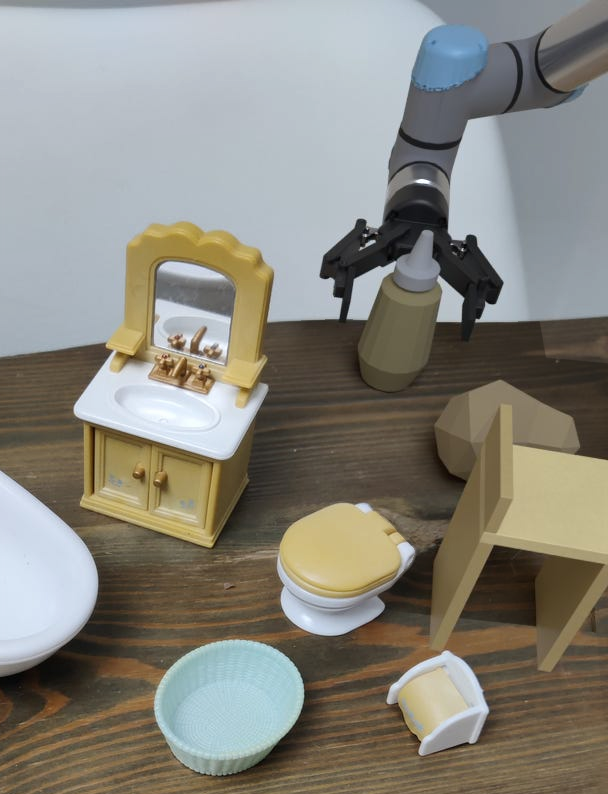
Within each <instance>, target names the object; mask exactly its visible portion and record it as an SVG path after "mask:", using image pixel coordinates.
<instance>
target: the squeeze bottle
mask: <svg viewBox="0 0 608 794" xmlns="http://www.w3.org/2000/svg"><path fill="white" fill-rule="evenodd" d="M433 235H434V234H433V232H432V231H430V230H424V231H422V233H421V235H420V237H419V238H418V240H417V242H416V244H415V246H414V248H413V249H412V251H411V253H410V254H406V255H402V256H401V257H400V258H398V259H397V261H395V265H394V268H393V271H391V272H390V273H388V274H387V275H385V276H384V277H383V278H382V281H381V283H380V286H379V289H378V291H377V294H376V296H375V299H374V301H373V304H372V306H371V309H370V312H369V315H368V318H367V320H366V322H365V326H364V328H363V330H362V333H361V336H360V338H359V342H358V344H357V353H358V362H359V370H360V374H361V378H362V380H363V381H364V382H365V383H366V384H367V385H368V386H370V387H371V388H374V389H376V390H378V391H381V392H382V391H383V392H388V393H389V392H392V393H393V392H399V391H402V390H405V389H406V388H408V387H409V386H410V385H412V383H413V381H415V379H416V378H417V376H418V375H419V374H420V373H421V372H422V370H423V369H424V368H425V367H426V365H427V364H428V362H429V358H430V354H431V350H432V345H433V339H434V335H435V331H436V330H435V329H436V325H437V320H438V316H439V315H438V314H439V310H440V306H441V301H442V296H443V288H442V286H441V284H440V282H438V279H439V277H440V276H439V273H440V266H439V264H438V263H437V262H436V261H435V260H434V259H433V258H432V251H433Z"/></svg>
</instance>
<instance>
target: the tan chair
mask: <svg viewBox="0 0 608 794" xmlns="http://www.w3.org/2000/svg"><path fill="white" fill-rule="evenodd" d="M494 546H500V547H505V548H511V549H517V550H523V551H529V552H534V553H540V554H546V555H548V556H547V558H546V559H545V561H544V563H543V565H542V567H541V568H540V570H539V572H538V574H537V576H536V577H535V580H534V591H535V592H534V594H535V596H534V597H535V599H534V600H535V629H536V630H535V632H536V664H537V671H542V672H547V673H551V672H552V671H553V670H554V668H555V666H556V665H557V663H558V662H559V661H560V659H561V657H562V656H563V654H564V653H565V651H566V650H567V648H568V647H569V645H570V644H571V642H572V641H573V639H574V637H575V636H576V635H577V633H578V632H579V630H580V629H581V627H582V626H583V624H584V622H585V621H586V620H587V618H588V616H589V615H590V613H591V612H592V610H593V609H594V607H595V606H596V604H597V603H598V601H599V600H600V598H601V597H602V595H603V594H604V592H605V591H606V589H607V587H608V459H602V458H596V457H591V456H584V455H578V454H574V455H573V454H567V453H560V452H554V451H548V450H542V449H536V448H530V447H524V446H518V445H513V431H512V406H511V405H506V404H500V406H499V408H498V410H497V413H496V415H495V417H494V420H493V422H492V425H491V427H490V429H489V432H488V434H487V436H486V439H485V441H484V443H483V446H482V448H481V451H480V453H479V455H478V458H477V460H476V462H475V465H474V467H473V469H472V472H471V474H470V477H469V479H468V481H466V484H465V486H464V489H463V491H462V493H461V496H460V498H459V501H458V503H457V505H456V508H455V510H454V512H453V515H452V517H451V519H450V522H449V524H448V526H447V529H446V531H445V533H444V536H443V538H442V541H441V543H440V546H439V548H438V550H437V553H436V555H435V557H434V561H433V566H432V567H433V568H432V586H431V590H432V591H431V603H430V604H431V606H430V625H429V626H430V627H429V645H428V649H429V650H430V651H435V652H441V653H442V652H443V651H444V649H445V647H446V644H447V643H448V642H449V641H448V640H449V638H450V636H451V635H452V633H453V630H454V628H455V626H456V624H457V622H458V620H459V618H460V616H461V614H462V613H463V609H464V608H465V606H466V603H467V601H468V599H469V598H470V595H471V593H472V592H473V589H474V588H475V585H476V583H477V580H478V578H479V577H480V575H481V572H482V571H483V569H484V566H485V564H486V563H487V561H488V558H489V557H490V554H491V553H492V551H493V548H494Z"/></svg>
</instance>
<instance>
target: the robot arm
mask: <svg viewBox="0 0 608 794" xmlns="http://www.w3.org/2000/svg"><path fill="white" fill-rule="evenodd" d="M607 74H608V0H588V2H585V3H584V4H582V5H581V6H579V7H578V8H576V9H574V10H573V11H572V12H570V13H568V14H566V15H565V16H563V17H562V18H560V19H558V20H557V21H555V22H554V23H553V24H551V25H550V26H547V27H546V28H544V29H542V30H541V31H539V32H538V33H536V34H534V35H532V36H529V37H527V38H522V39H521V38H520V39H515V40H508V41H502V42H494V43H489V39H488V37H487V36H486V34H485V33H483V32H482V31H480V30H479V29H477V28H474V27H472V26H469V25H465V24H460V25H455V24H451V23H450V24H449V23H448V24H441V25H438V26H435V27H433V28H431V29H430V30H428V31H427V33H426V34H425V35H424V36H423V37H422V40H421V43H420V45H419V49H418V51H417V53H416V58H415V60H414V64H413V66H412V69H411V74H410V81H409V82H410V83H409V87H408V92H407V96H406V101H405V105H404V106H405V107H404V110H403V115H402V119H401V121H400V124H399V127H398V130H397V135H396V137H395V138H396V139H395V141H394V143H393V145H392V148H391V151H390V156H389V159H388V162H387V163H388V164H387V170H388V175H387V186H386V191H385V192H386V193H385V200H384V207H383V213H382V221H381V225H379V227H378V228H377V227H372V226H368V225H367V223H368V222H367V219H365V218H357V219H356V221H355V224H354V227H353V229H351V230H350V231H349V232H348V233H347V234H346V235H344V237H342V238H341V239H340V240H339V241H338V242H337V243H336V244H334V245H333V246H332V247H331V248H330V249H329V250H328V251H326V253H324V254H323V255H322V260H321V266H320V270H319V274H318V275H319V278H320V279H322V280H329V279H333V281H334V282H333V290H332V296H333V298H337V299H341V304H340V311H339V318H338V323H341V324H346V323H347V319H348V315H349V310H350V307H351V302H352V297H353V290H354V289H353V288H354V282H355V280H356V279H357V278H359V277H361V276H363V275H365V274H367V273H369V272H371V271H373V270H375V269H376V268H378V267H380V268H385V267H387V266H389V265H390V264H393V263H395V262H396V261H397V259H398V258H400V257H401V256H402V255H406V254H410V253H411V251H412V249H413V248H414V246H415V244H416V242H417V240H418V238H419V237H420V235H421V233H422V231H424V230H430V231H432V232H433V234H434V235H433V251H432V258H433V259H434V260H435V261H436V262H437V263H438V264H439V266H440V273H439V276H438V277H440V278H441V279H442V280H443V281H445V282H446V283H447V284H448V286H450V287H451V288H452V289H453V290H454V291H456V292H457V293H458V295H460V296H461V297H462V298H463V301H462V304H461V319H460V321H461V323H460V326H461V327H460V342H465V343H468V342H469V340H470V338H471V335H472V333H473V329H474V327H475V324H476V321H477V320H480V319H482V317H483V314H484V312H485V308H486V304H487V305H492V306H493V305H496V304H497V302H498V300H499V297H500V295H501V292H502V289H503V286H504V284H505V282H504V280H503V279H502V278H501V276H500V275H499V273H498V272H497V270H496V269H495V268H494V267H493V264H491V263H490V261H489V260H488V258H487V257H486V255H485V254H484V252H483V251H482V250H481V249H480V247H479V245H478V244H479V243H478V237H477V236H476V235H474V234H469V233H468V234H467V235H466V236H465V239H464V240H462V239H461V240H460V239H453V238H452V236H451V234H450V233H449V223H450V221H449V219H450V201H451V200H450V199H451V181H452V174H453V169H454V165H455V162H456V159H457V156H458V153H459V152H458V151H459V148H460V146H461V142H462V141H463V138H464V137H463V136H464V134H465V131H466V128H467V124H468V123H469V122H468V121H470V120H475V119H476V120H477V119H482V118H487V117H494V116H500V115H501V116H502V115H505V114H510V113H518V112H524V111H531V110H537V109H553V108H555V107H558V106H561V105H563V104H568V103H571V102H573V101H575V100H577V99H579V98H580V96H582V94H584V93H583V92H584V91H585V89H586V88H587V87H588V86H589V85H590V83H591V82H594V81H595V80H597V79H600V78H601V77H604V76H605V75H607ZM371 241H375V242H373V243H371V244H369V243H370V242H371ZM367 244H369V245H367Z"/></svg>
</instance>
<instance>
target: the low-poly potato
mask: <svg viewBox="0 0 608 794" xmlns="http://www.w3.org/2000/svg"><path fill="white" fill-rule="evenodd" d="M500 404H506V405H511V406H512V431H513V445H518V446H524V447H530V448H536V449H542V450H548V451H554V452H560V453H567V454H573V455H576V453H577V452H578V450H579V449H581V444H580V440H579V436H578V432H577V429H576V424H575V420H574V417H572V416H571V415H570V414H567V413H565V412H562V411H560V410H557V409H555V408H553V407H551V406H549V405H547V404H545V403H543V402H541V401H540V400H538V399H536V398H535V397H532V396H530V395H529V394H527V393H525V392H524V391H522V390H520V389H518V388H516V387H515V386H514V385H512V384H509V383H508V382H507V381H504V380H502V379H498V380H496V381H492V382H490V383H487V384H485V385H481V386H479V387H476V388H474V389H471V390H468V391H466V392H463V393H460V394H458V395H455V396H453V397H451V398H450V400H449V401H448V402H447V404H446V406H445V408H444V409H443V411H442V412H441V414H440V415H439V417H438V419H437V420H436V421H435V423H434V425H433V427H434V435H435V440H436V447H437V453H438V457H439V459H440V460H441V462H442V463H443V465H444V466H445V468H446V469H447V470H448V472H449V474H451V475H452V476H455V477H458V478H460V479H462V480H464V481H466V482H467V481H468V479H469V477H470V474H471V472H472V469H473V467H474V465H475V462H476V460H477V458H478V455H479V453H480V451H481V448H482V446H483V443H484V441H485V439H486V436H487V434H488V432H489V429H490V427H491V425H492V422H493V420H494V417H495V415H496V413H497V410H498V408H499V406H500Z"/></svg>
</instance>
